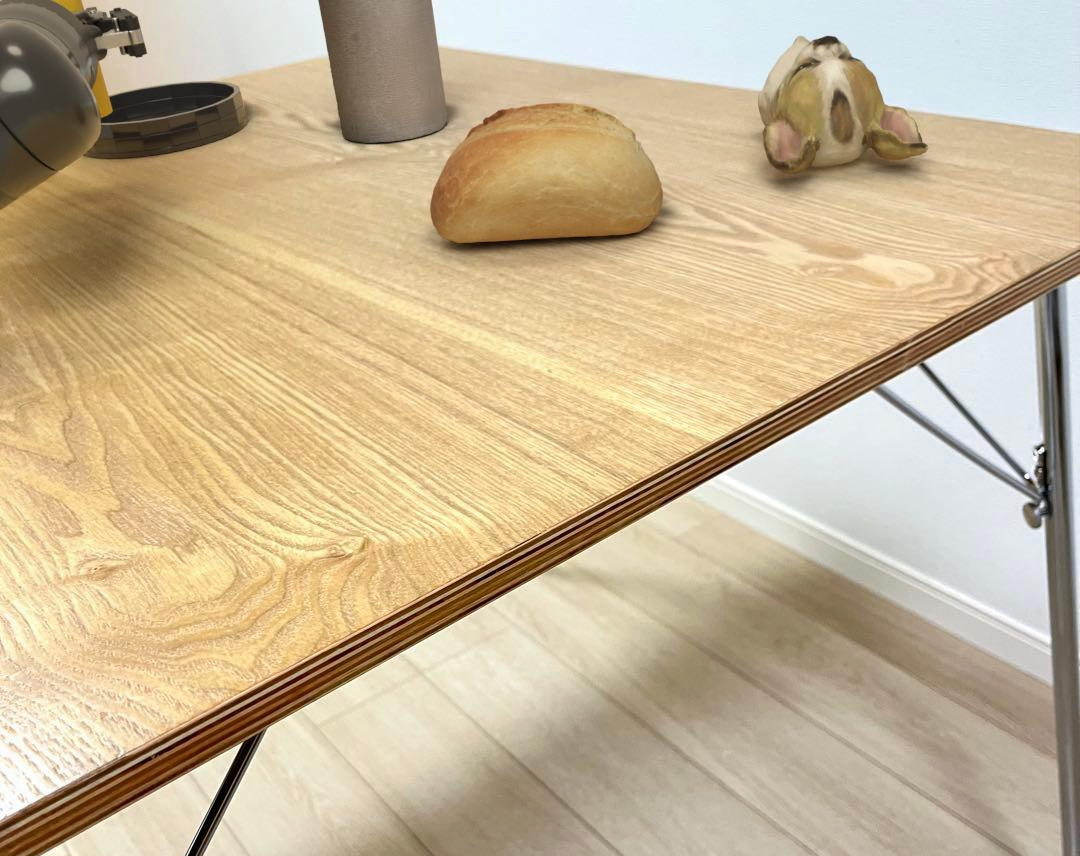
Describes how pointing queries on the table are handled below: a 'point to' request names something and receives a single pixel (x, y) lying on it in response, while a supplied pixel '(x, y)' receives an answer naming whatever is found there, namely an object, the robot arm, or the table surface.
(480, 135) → the bread roll
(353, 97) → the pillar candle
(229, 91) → the pan
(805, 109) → the ceramic sculpture
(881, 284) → the table surface
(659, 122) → the table surface
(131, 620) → the table surface
